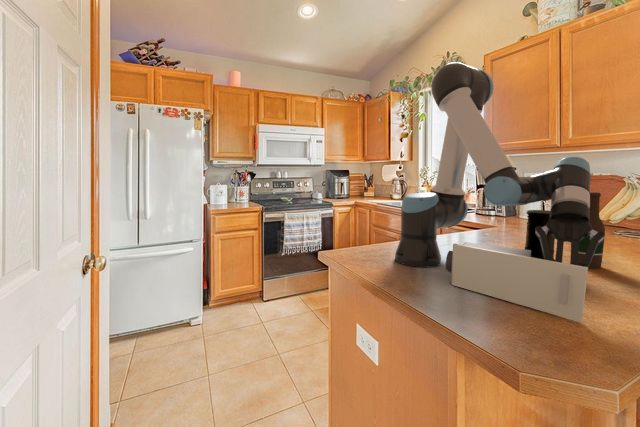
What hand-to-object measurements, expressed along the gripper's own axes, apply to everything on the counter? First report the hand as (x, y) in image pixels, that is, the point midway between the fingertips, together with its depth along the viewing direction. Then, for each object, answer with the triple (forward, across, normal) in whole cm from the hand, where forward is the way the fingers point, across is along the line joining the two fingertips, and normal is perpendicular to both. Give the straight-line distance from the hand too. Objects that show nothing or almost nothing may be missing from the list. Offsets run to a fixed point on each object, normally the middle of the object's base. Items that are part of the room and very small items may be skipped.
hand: (564, 295), depth 65 cm
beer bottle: (-31, -7, -39) cm, 51 cm away
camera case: (-4, +17, -10) cm, 20 cm away
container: (-25, +6, -32) cm, 41 cm away
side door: (+3, +11, -3) cm, 11 cm away
